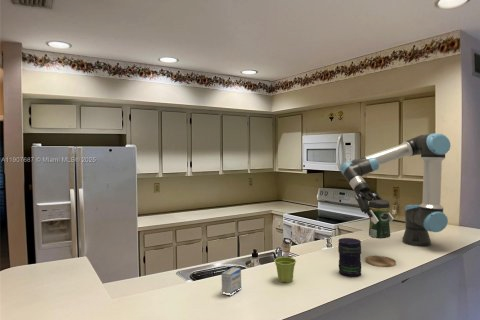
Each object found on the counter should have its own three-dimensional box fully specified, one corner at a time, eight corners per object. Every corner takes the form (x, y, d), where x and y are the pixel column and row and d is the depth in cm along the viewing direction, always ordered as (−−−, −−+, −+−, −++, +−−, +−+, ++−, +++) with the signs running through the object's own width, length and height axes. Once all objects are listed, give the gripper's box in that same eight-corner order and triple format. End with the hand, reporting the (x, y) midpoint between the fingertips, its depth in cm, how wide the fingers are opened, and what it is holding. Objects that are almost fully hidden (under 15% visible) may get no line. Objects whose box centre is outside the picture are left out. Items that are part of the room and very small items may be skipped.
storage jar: (345, 268, 153) (344, 236, 153) (365, 273, 146) (364, 240, 146) (334, 273, 146) (334, 240, 146) (355, 279, 139) (354, 245, 139)
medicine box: (231, 297, 124) (230, 274, 124) (221, 294, 126) (221, 272, 126) (241, 289, 131) (241, 268, 130) (232, 287, 133) (232, 266, 133)
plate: (382, 256, 169) (382, 254, 169) (402, 265, 155) (402, 263, 155) (359, 259, 165) (359, 256, 165) (377, 268, 152) (377, 265, 152)
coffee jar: (381, 234, 165) (381, 198, 165) (393, 238, 158) (393, 200, 157) (365, 235, 162) (365, 199, 162) (377, 239, 155) (376, 201, 154)
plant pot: (282, 286, 133) (282, 265, 133) (270, 278, 141) (270, 259, 141) (300, 281, 137) (300, 261, 137) (287, 274, 146) (287, 255, 146)
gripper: (371, 189, 178) (395, 223, 164) (340, 192, 169) (363, 228, 155) (379, 180, 173) (404, 214, 159) (347, 182, 164) (371, 219, 150)
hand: (384, 221), depth 157 cm, fingers closed on coffee jar, 9 cm apart
